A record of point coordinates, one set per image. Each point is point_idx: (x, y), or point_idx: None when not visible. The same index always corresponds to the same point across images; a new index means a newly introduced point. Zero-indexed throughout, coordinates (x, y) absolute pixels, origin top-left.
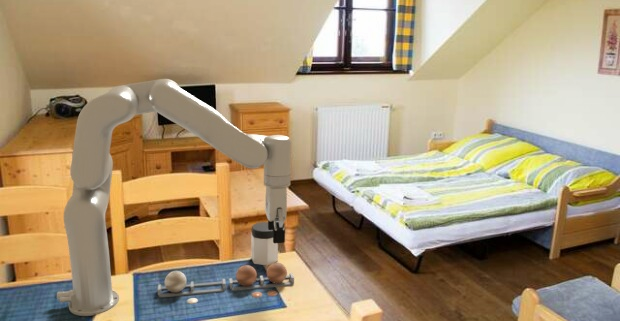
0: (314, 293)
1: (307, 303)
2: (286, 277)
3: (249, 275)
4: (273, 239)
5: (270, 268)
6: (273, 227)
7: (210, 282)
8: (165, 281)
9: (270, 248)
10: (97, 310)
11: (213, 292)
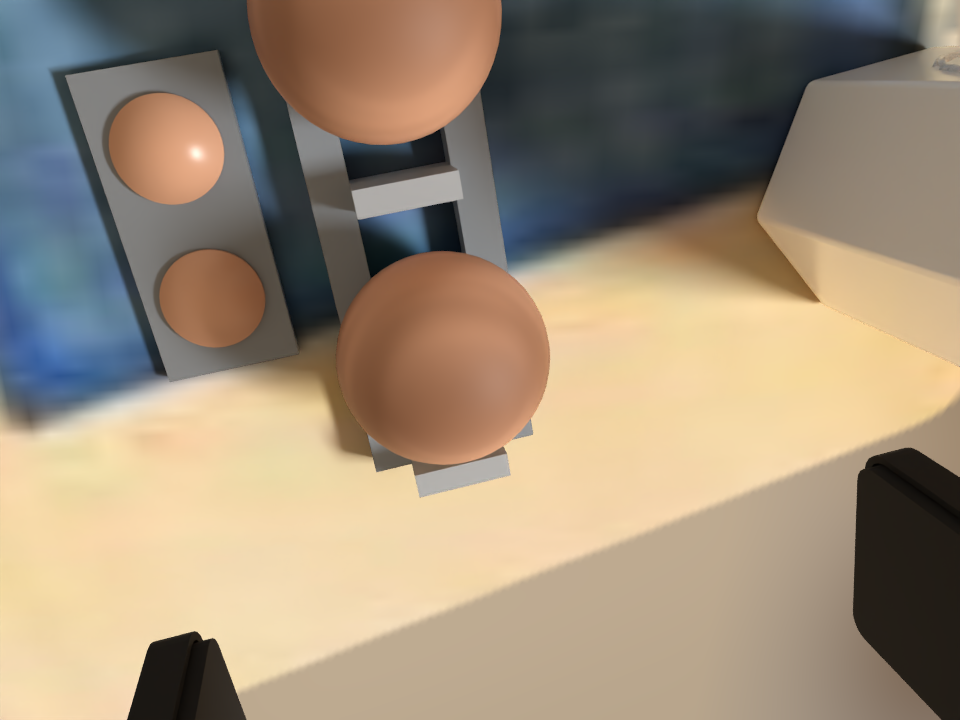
0: (275, 617)
1: (103, 581)
2: None
3: (270, 60)
4: (133, 702)
5: (408, 318)
6: (891, 572)
7: None
8: None
9: (890, 287)
10: None
11: None
